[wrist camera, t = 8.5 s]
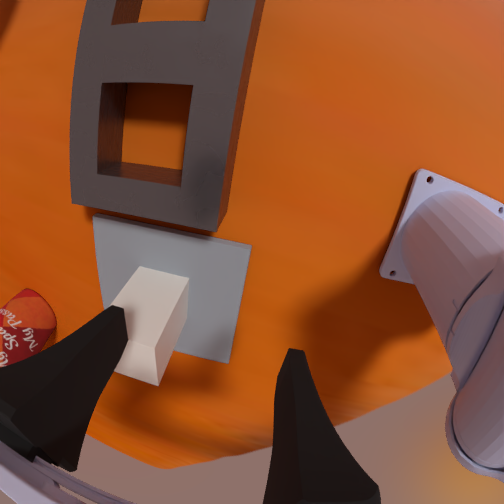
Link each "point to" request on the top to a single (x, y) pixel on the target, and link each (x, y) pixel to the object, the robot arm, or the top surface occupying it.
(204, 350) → the rubber pad
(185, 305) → the ivory plug
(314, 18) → the top surface
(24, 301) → the coffee cup
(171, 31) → the metal frame
